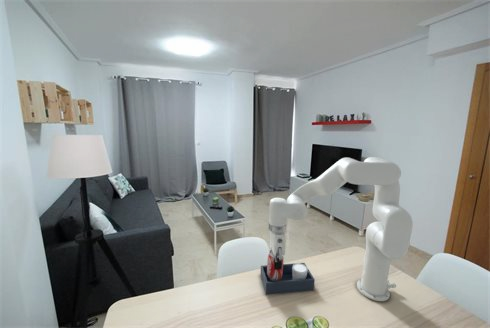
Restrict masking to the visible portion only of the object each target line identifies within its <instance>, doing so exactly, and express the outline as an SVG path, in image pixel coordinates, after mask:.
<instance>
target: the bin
mask: <svg viewBox="0 0 490 328" xmlns="http://www.w3.org/2000/svg"><path fill="white" fill-rule="evenodd" d="M296 263H297V262H296ZM296 263H295V262H294V263H283V275H282V279H281V280H279V281H272V280H270V279H269V278H268V276H267V264H266V265H265V264H264V265H260V280H261V283H262V287H263V290H264V294H265V295H266V296H267V295H278V294H279V295H280V294H289V293H301V292H302V293H303V292H312V291H313V292H314V291H315V278H314V276H313V275H312V272H311V271H310V270H309V268H308V266H307V264H306V263H305V262H299V263H300V264H303V265H305V266H306V267H307V268H308V271H307V276H306V279H299V280H293V271H292V266H293V265H294V264H296Z"/></svg>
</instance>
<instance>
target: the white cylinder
mask: <svg viewBox="0 0 490 328" xmlns="http://www.w3.org/2000/svg"><path fill="white" fill-rule="evenodd" d="M300 263H301V262H296V264H294V265H293V266H292V271H293V280H299V279H306V276H307V271H308V269H309V268H308V266H307V265H306V264H305V265H306V266H307V267H306V266H305V265H303V264H300Z"/></svg>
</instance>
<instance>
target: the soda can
mask: <svg viewBox="0 0 490 328" xmlns="http://www.w3.org/2000/svg"><path fill="white" fill-rule="evenodd" d="M277 254H278V252H277ZM282 256H283V257H284V255H283V254H282ZM277 258H279V256H277ZM274 261H275V255H274V254H273V252H272V250H271V251H270V250H269V253H268V254H267V261H266V265H267V276H268V278H269V279H270V280H272V281H279V280H281V279H282V275H283V264H284V259H283V260H282V269H280V270H274Z"/></svg>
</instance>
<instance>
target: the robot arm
mask: <svg viewBox="0 0 490 328" xmlns="http://www.w3.org/2000/svg"><path fill="white" fill-rule="evenodd" d="M401 175H402V171H401V168H400V167H399V165H398V164H396V163H394V162H392V161H391V160H387V159H384V158H382V157H378V156H368V157H367V158H366V159H364V161H359V160H357V159H354V158H351V157H342V158H340V159H338V161H336V162H335V163H334V164H332V165H331V166H330V167H329V168H328V169H326V170H325V171H324V172H322V173H321V174H320V175H319V176H318V177H316V178H315V179H313V180H310V181H308V182H306V183H304V184H302V185H300V186H299V187H298V188H297V189H295V190H294V191H293V192H291V194H290V195H289V196H288V197H287V199H285V198H283V197H272V198H271V199H270V200H269V209H268V231H269V239H268V240H269V241H268V242H269V252H270V251H271V250H272V252H273V254H274V255H275V261H274V270H280V269H282V260H283V261H284V256H285V255H286V233H287V221H288V220H287V219H291V220H294V221H302V220H304V219H305V218H306V217H307V216H308V208H307V206H306V203H308V202H309V201H310V200H312V199H313V198H316V197H320V196H322V197H323V196H324V197H327V196H331V195H333V194H334V193H335V192H336V191H338V190H339V189H340V188H341V187H343V186H344V185H346V183H348V184H352V185H359V186H374V195H373V203H372V209H371V210H372V211H371V212H372V215H373V217H374V218H375V219H376V221H373V222H371V223H370V224H369V225H367V227H366V230H365V250H364V251H365V252H364V258H363V267H362V272H361V278H359V279H358V280H357V281H356V288H357V290H358V291H359V292H360V293H361V294H362V295H363V296H364V297H366V298H368V299H370V300H372V301H376V302H386V301H388V300H389V299H390V295H391V294H390V291H389V290H390V289H394V288H395V289H396V288H397V284H396V283H395V282H390V280H389V275H390V274H389V273H390V269H391V262H392V260H393V261H397V260H401V259H403V258H404V257H405V256H406V255H407V253H408V251H409V247H410V243H411V237H412V232H413V225H414V224H413V218H412V216H411V214H410V213H409V211H408V210H407V209H405V208H404V207H402V206H401V205H400V194H401V184H400V181H399V180H400V178H401V177H402V176H401ZM277 252H278V254H277ZM282 255H283V256H282ZM277 256H279V258H277Z"/></svg>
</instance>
